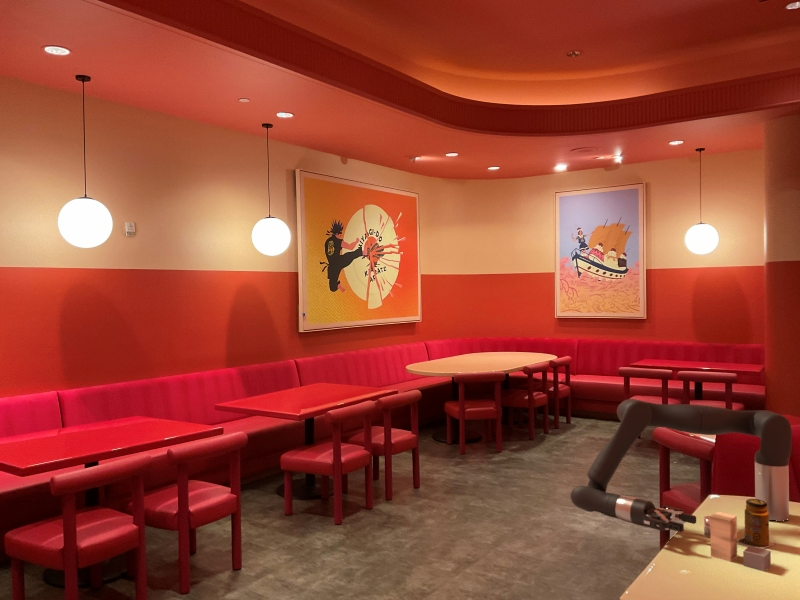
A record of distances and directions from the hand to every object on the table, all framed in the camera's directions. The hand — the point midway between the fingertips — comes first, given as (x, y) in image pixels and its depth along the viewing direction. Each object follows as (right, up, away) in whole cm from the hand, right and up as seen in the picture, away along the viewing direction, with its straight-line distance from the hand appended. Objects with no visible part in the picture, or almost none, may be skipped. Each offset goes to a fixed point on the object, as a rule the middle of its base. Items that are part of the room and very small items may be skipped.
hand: (689, 524), depth 179 cm
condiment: (+19, -6, +2) cm, 20 cm away
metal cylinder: (+10, -6, +8) cm, 14 cm away
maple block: (+6, -6, -7) cm, 11 cm away
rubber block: (+12, -7, -13) cm, 19 cm away
